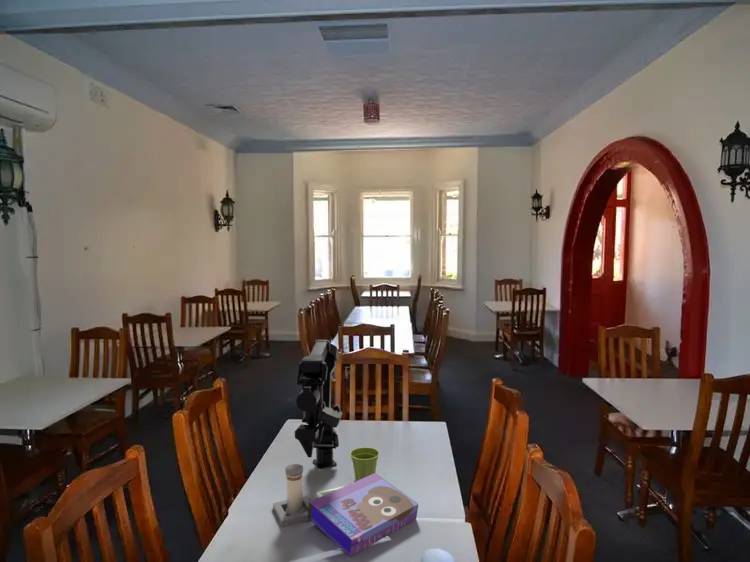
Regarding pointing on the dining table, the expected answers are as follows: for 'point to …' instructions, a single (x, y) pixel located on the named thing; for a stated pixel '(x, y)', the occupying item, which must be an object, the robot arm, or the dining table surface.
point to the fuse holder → (291, 519)
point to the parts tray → (325, 492)
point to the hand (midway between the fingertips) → (314, 450)
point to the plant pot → (364, 461)
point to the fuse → (294, 489)
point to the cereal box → (362, 513)
